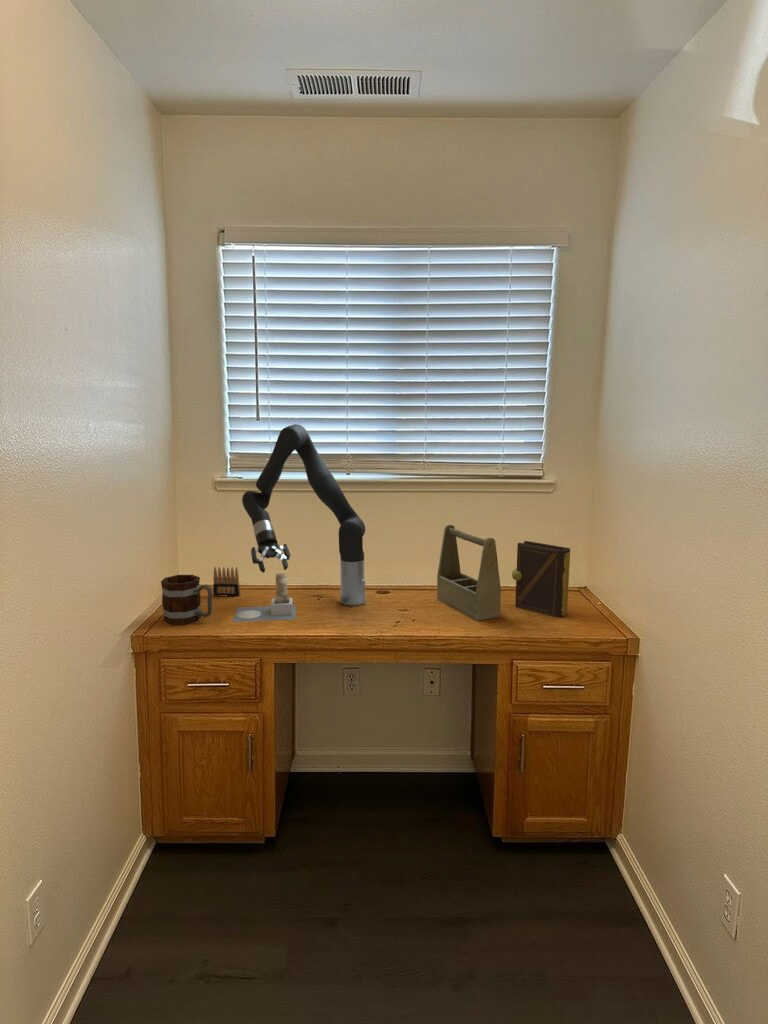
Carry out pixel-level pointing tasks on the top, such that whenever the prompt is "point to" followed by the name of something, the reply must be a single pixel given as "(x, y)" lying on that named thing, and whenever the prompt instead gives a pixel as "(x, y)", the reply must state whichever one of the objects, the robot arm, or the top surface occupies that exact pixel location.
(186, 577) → the mug
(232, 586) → the ammunition clip
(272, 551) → the robot arm
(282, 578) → the peg
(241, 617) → the board
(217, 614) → the top surface
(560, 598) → the book
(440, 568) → the caddy
